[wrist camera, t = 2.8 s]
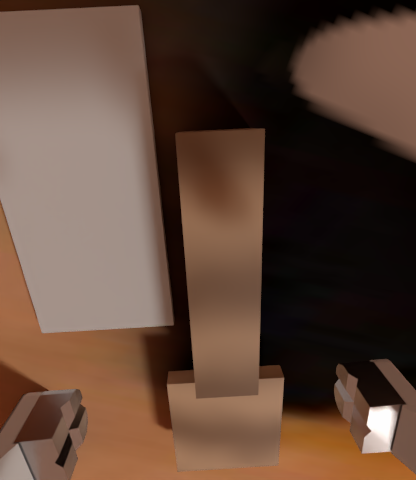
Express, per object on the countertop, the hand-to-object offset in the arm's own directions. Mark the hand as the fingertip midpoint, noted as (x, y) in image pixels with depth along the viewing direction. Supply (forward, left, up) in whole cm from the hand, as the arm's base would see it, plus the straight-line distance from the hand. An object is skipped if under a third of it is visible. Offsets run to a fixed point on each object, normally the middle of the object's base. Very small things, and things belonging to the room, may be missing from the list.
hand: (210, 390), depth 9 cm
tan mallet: (-1, +3, -9) cm, 9 cm away
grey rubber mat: (+6, -5, -9) cm, 11 cm away
